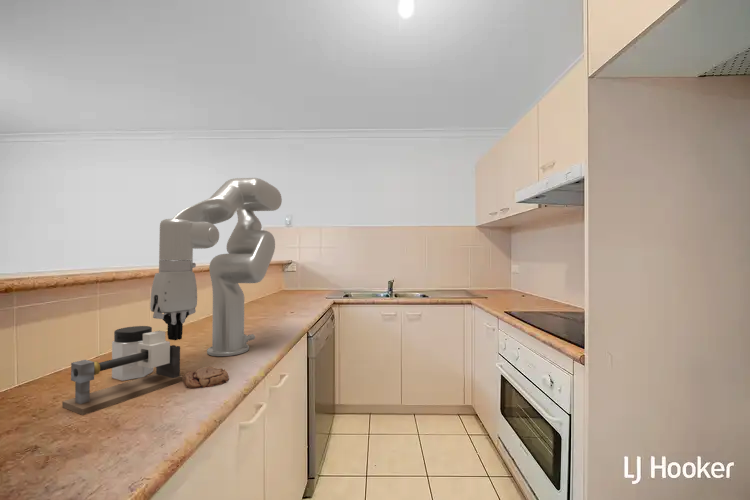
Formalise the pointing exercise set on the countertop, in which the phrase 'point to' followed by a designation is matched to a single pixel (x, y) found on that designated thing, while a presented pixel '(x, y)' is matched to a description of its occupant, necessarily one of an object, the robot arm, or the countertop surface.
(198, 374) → the cookie
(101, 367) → the comb rig
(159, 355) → the sleeve
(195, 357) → the countertop surface
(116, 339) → the jar
